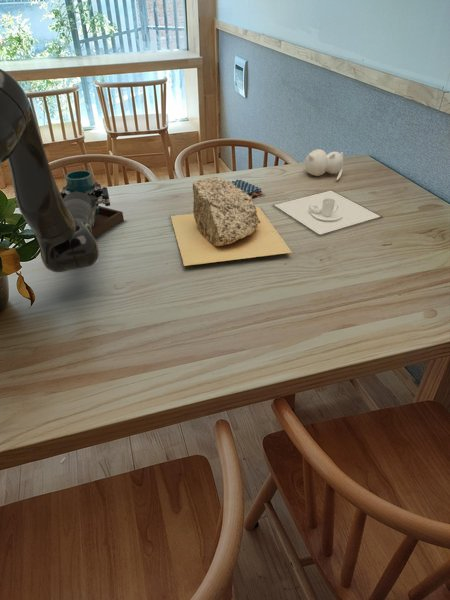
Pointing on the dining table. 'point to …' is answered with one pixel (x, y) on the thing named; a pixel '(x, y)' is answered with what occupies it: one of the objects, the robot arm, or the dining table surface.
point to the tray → (106, 220)
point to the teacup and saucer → (326, 212)
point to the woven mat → (248, 188)
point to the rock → (224, 226)
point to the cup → (80, 182)
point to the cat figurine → (324, 163)
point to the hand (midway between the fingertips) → (82, 187)
